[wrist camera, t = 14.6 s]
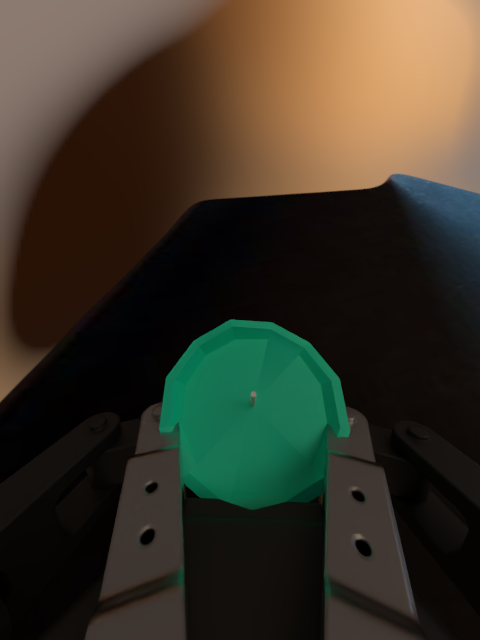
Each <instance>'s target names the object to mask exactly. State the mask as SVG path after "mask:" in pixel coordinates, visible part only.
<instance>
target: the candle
mask: <svg viewBox="0 0 480 640" xmlns="http://www.w3.org/2000/svg"><path fill="white" fill-rule="evenodd" d="M178 422H179V429H180V443H181V458H182V471H183V480H184V484H185V485H186V486H187V487H188V488H190V489H191V490H192V491H193V492H194V493H195V494H196V495H197V496H198V497H200V498H212V499H220V500H223V501H226V502H229V503H232V504H235V505H238V506H241V507H244V508H247V509H250V510H256V509H260V508H264V507H268V506H272V505H276V504H280V503H284V502H306V503H308V502H310V501H312V500H313V499H315V498H316V497H318V496H319V495H321V494H322V490H323V479H324V466H325V450H326V435H327V423H328V424H329V425H330V426H331V427H332V429H333V431H334V433H335V434H336V436H337V437H349V434H350V426H349V422H348V417H347V412H346V407H345V402H344V397H343V392H342V388H341V383H340V379H339V377H338V376H337V375H336V374H335V373H334V371H333V370H332V369H331V368H330V367H329V365H328V364H327V363H326V362H325V361H324V359H323V358H322V357H321V356H320V355H319V353H318V352H317V351H316V350H315V349H314V347H313V346H312V345H311V344H310V343H309V342H307V341H306V340H304V339H302V338H300V337H298V336H296V335H294V334H293V333H291V332H289V331H287V330H285V329H283V328H282V327H280V326H278V325H276V324H274V323H272V322H260V321H245V320H229V321H227V322H226V323H224V324H222V325H220V326H219V327H217V328H215V329H213V330H212V331H210V332H208V333H206V334H205V335H203V336H201V337H200V338H198V339H196V340H194V341H193V342H192V344H191V345H190V346H189V348H188V349H187V350H186V352H185V353H184V354H183V356H182V357H181V358H180V360H179V361H178V362H177V364H176V365H175V366H174V368H173V369H172V370H171V372H170V373H169V374H168V376H167V377H166V382H165V389H164V396H163V403H162V410H161V418H160V425H159V431H160V433H161V432H172V431H173V429H174V427H175V425H176V424H177V423H178Z"/></svg>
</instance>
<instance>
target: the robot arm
mask: <svg viewBox="0 0 480 640" xmlns="http://www.w3.org/2000/svg"><path fill="white" fill-rule="evenodd" d="M344 402H345V400H344ZM162 403H163V398H162V400H161V401H160V403H157V404H154V405H152V406H150V407H149V408H147V409H146V410H145V411H144V412H143V414H142V417H141V418H138V419H134V420H129V421H124V422H120V420H119V416H118V415H117V414H115V413H111V412H106V413H100V414H97V415H94V416H92V417H90V418H88V419H87V420H85V421H84V422H82V423H81V424H80V425H78V426H77V427H76V428H74V429H73V430H72V431H70V432H69V433H68V434H66V435H65V436H64V437H62V438H61V439H60V440H58V441H57V442H56V443H54V444H53V445H52V446H50V447H49V448H48V449H46V450H45V451H44V452H42V453H41V454H40V455H38V456H37V457H36V458H34V459H33V460H32V461H30V462H29V463H28V464H26V465H25V466H24V467H22V468H21V469H20V470H18V471H17V472H16V473H14V474H13V475H12V476H10V477H9V478H8V479H6V480H5V481H4V482H2V483H1V484H0V640H10V636H11V632H12V628H13V627H14V625H15V624H16V623H17V622H18V620H19V619H20V618H21V616H22V615H23V614H24V613H25V611H26V610H27V609H28V608H29V606H30V605H31V604H32V603H33V601H34V600H35V599H36V598H37V596H38V595H39V594H40V593H41V591H42V590H43V589H44V588H45V586H46V585H47V584H48V583H49V581H50V580H51V579H52V578H53V576H54V575H55V574H56V573H57V571H58V570H59V569H60V568H61V566H62V565H63V564H64V562H65V561H66V560H67V559H68V557H69V556H70V555H71V554H72V552H73V551H74V550H75V549H76V547H77V546H78V545H79V544H80V542H81V541H82V540H83V539H84V537H85V536H86V535H87V534H88V532H89V531H90V530H91V529H92V527H93V526H94V525H95V524H96V522H97V521H98V520H99V519H100V517H101V516H102V515H103V513H104V512H105V511H106V510H107V508H108V507H109V506H110V505H111V503H112V502H113V501H114V500H115V498H116V497H117V496H118V495H119V493H120V492H121V496H120V500H119V505H118V510H117V515H116V520H115V525H114V530H113V534H112V539H111V544H110V549H109V554H108V559H107V564H106V569H105V571H104V572H103V573H102V574H101V575H100V576H99V577H98V578H97V579H96V580H95V581H94V582H93V583H92V584H91V585H90V586H89V587H88V588H87V589H86V590H85V591H84V592H83V593H82V594H81V595H80V596H79V597H78V598H77V599H76V600H75V601H74V602H73V603H72V604H71V605H70V606H69V607H68V608H67V609H66V610H65V611H64V612H63V613H62V614H61V615H60V616H59V617H58V618H57V619H56V620H55V621H54V622H53V623H52V624H51V625H50V626H49V627H48V628H47V629H46V630H45V631H44V632H43V633H42V634H41V635H40V636H39V637H38V638H37V639H36V640H459V639H458V638H457V637H456V636H455V635H454V634H453V633H452V632H451V631H450V630H449V629H448V627H447V626H446V625H445V624H444V623H443V622H442V621H441V620H440V619H439V618H438V617H437V616H436V615H435V614H434V613H433V612H432V611H431V610H430V609H429V608H428V607H427V606H426V605H425V604H424V602H423V601H422V600H421V599H420V598H419V597H418V596H417V595H416V594H415V593H414V592H413V591H412V589H411V585H410V581H409V576H408V572H407V568H406V563H405V559H404V554H403V550H402V546H401V541H400V537H399V533H398V528H397V524H396V519H395V515H394V511H393V507H394V509H395V510H396V511H397V512H398V514H399V515H400V516H401V518H402V519H403V520H404V521H405V523H406V524H407V525H408V526H409V528H410V529H411V530H412V531H413V533H414V534H415V535H416V536H417V538H418V539H419V540H420V541H421V543H422V544H423V545H424V547H425V548H426V549H427V550H428V552H429V553H430V554H431V555H432V557H433V558H434V559H435V560H436V562H437V563H438V564H439V565H440V567H441V568H442V569H443V570H444V572H445V573H446V574H447V576H448V577H449V578H450V579H451V581H452V582H453V583H454V584H455V586H456V587H457V588H458V589H459V591H460V592H461V593H462V594H463V596H464V597H465V598H466V599H467V601H468V602H469V603H470V605H471V606H472V607H473V608H474V610H475V611H476V612H477V613H478V615H479V616H480V465H478V464H477V463H476V462H474V461H473V460H472V459H470V458H469V457H467V456H466V455H465V454H463V453H462V452H461V451H459V450H458V449H457V448H455V447H454V446H453V445H451V444H450V443H449V442H447V441H446V440H445V439H443V438H442V437H440V436H439V435H438V434H436V433H435V432H434V431H432V430H431V429H429V428H427V427H426V426H424V425H421V424H419V423H416V422H412V421H407V420H401V421H397V422H395V424H394V426H393V430H391V429H387V428H382V427H378V426H375V425H371V424H369V423H368V422H367V419H366V418H365V417H364V415H362V414H361V413H360V412H359V411H357V410H355V409H353V408H350V407H349V406H348V405H347V403H346V402H345V407H346V412H347V417H348V422H349V426H350V434H349V437H337V436H336V434H335V433H334V431H333V429H332V427H331V426H330V425H329V424H328V423H327V435H326V450H325V466H324V479H323V490H322V494H321V495H319V503H306V502H284V503H280V504H276V505H272V506H268V507H264V508H260V509H256V510H250V509H247V508H244V507H241V506H238V505H235V504H232V503H229V502H226V501H223V500H220V499H212V498H188V497H186V485H185V484H184V480H183V471H182V458H181V443H180V429H179V422H178V423H177V424H176V425H175V427H174V429H173V431H172V432H161V433H160V431H159V425H160V418H161V410H162ZM85 470H87V474H88V475H87V476H86V477H85V478H84V479H83V480H82V481H81V482H80V483H79V484H78V485H77V486H76V487H75V488H74V489H73V490H72V491H71V492H70V493H69V494H68V495H67V496H66V497H65V498H64V499H63V500H62V501H61V502H60V503H59V504H58V505H57V506H56V503H57V500H58V498H59V497H60V495H61V494H62V493H63V491H64V490H65V489H66V488H67V487H68V486H69V485H70V484H71V483H72V482H74V481H75V480H76V479H77V478H78V477H79V476H80V475H81V474H82V473H83V472H84V471H85ZM432 484H433V485H434V486H435V487H436V488H437V489H438V490H439V491H440V492H441V493H442V494H443V495H444V496H445V497H446V498H448V499H449V500H450V501H451V502H452V503H453V504H454V505H455V506H456V507H457V508H458V509H459V510H460V512H461V513H462V514H463V516H464V517H465V519H466V521H467V524H468V528H469V529H468V528H467V527H466V526H465V525H464V524H463V523H462V522H461V521H460V520H459V519H458V518H457V517H456V516H455V515H454V514H453V513H452V512H451V511H450V510H449V509H448V508H447V507H446V506H445V505H444V504H443V503H442V502H441V501H440V500H439V499H438V498H437V497H436V496H435V495H434V494H433V493H432V492H431V491H430V488H431V485H432ZM55 506H56V507H55Z"/></svg>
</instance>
